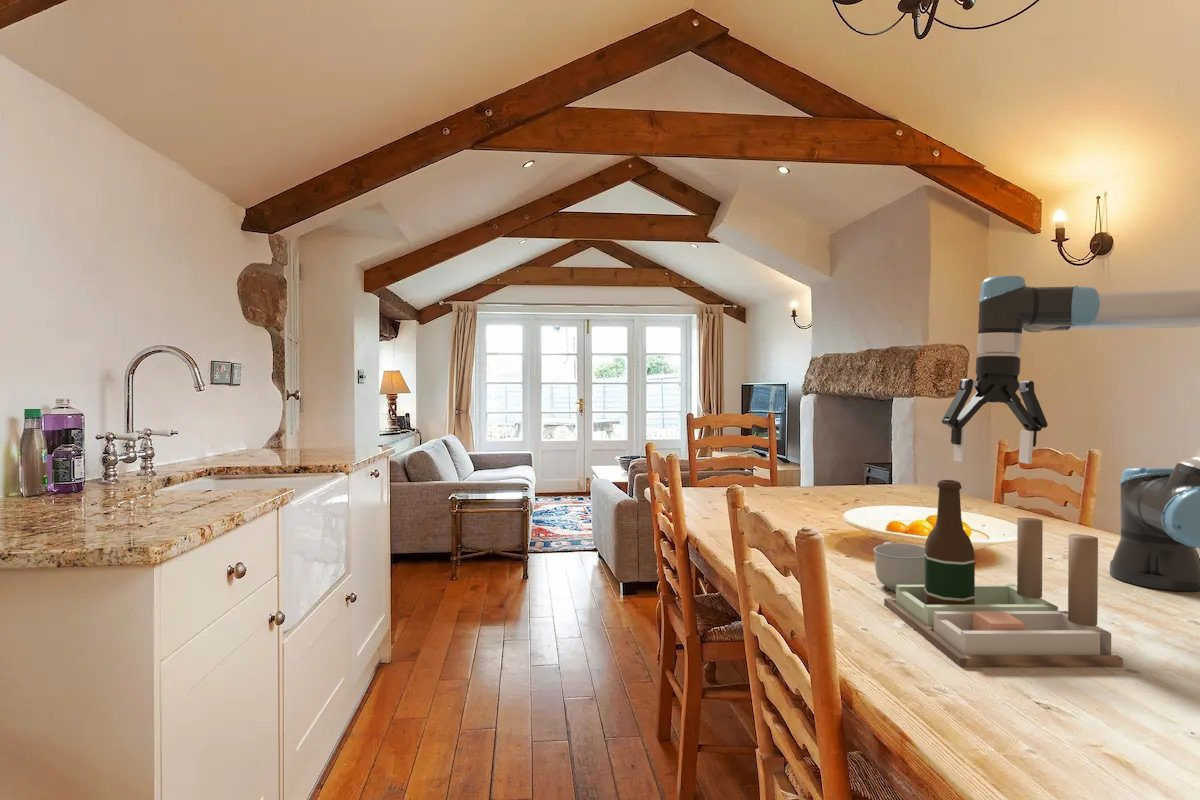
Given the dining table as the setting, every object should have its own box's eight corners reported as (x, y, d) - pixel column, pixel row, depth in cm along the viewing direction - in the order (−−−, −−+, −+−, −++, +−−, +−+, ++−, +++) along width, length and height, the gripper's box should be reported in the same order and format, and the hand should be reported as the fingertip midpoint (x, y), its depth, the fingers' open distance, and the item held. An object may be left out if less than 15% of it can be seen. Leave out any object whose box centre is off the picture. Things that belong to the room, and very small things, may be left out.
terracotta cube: (1004, 643, 102) (1005, 611, 102) (1025, 656, 97) (1025, 623, 97) (972, 643, 103) (972, 611, 102) (991, 656, 98) (991, 623, 97)
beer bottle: (914, 612, 116) (914, 478, 116) (956, 610, 117) (956, 477, 116) (941, 628, 108) (941, 484, 108) (985, 626, 109) (985, 483, 109)
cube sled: (1072, 635, 104) (1073, 529, 104) (1118, 660, 95) (1119, 544, 95) (933, 636, 105) (933, 530, 104) (965, 660, 95) (965, 545, 95)
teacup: (941, 598, 124) (941, 556, 123) (879, 595, 126) (880, 554, 126) (920, 577, 137) (920, 539, 137) (865, 574, 139) (865, 537, 139)
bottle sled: (1018, 606, 118) (1018, 512, 118) (1064, 631, 106) (1064, 527, 106) (895, 606, 119) (895, 513, 118) (927, 631, 107) (927, 528, 106)
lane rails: (1010, 604, 120) (1010, 598, 120) (1122, 666, 93) (1122, 658, 93) (884, 604, 120) (884, 598, 120) (960, 666, 94) (960, 658, 94)
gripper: (1044, 358, 134) (1038, 461, 135) (926, 353, 132) (921, 458, 133) (1073, 357, 126) (1066, 466, 127) (948, 352, 125) (942, 463, 126)
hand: (992, 462), depth 130 cm, fingers open, 13 cm apart
